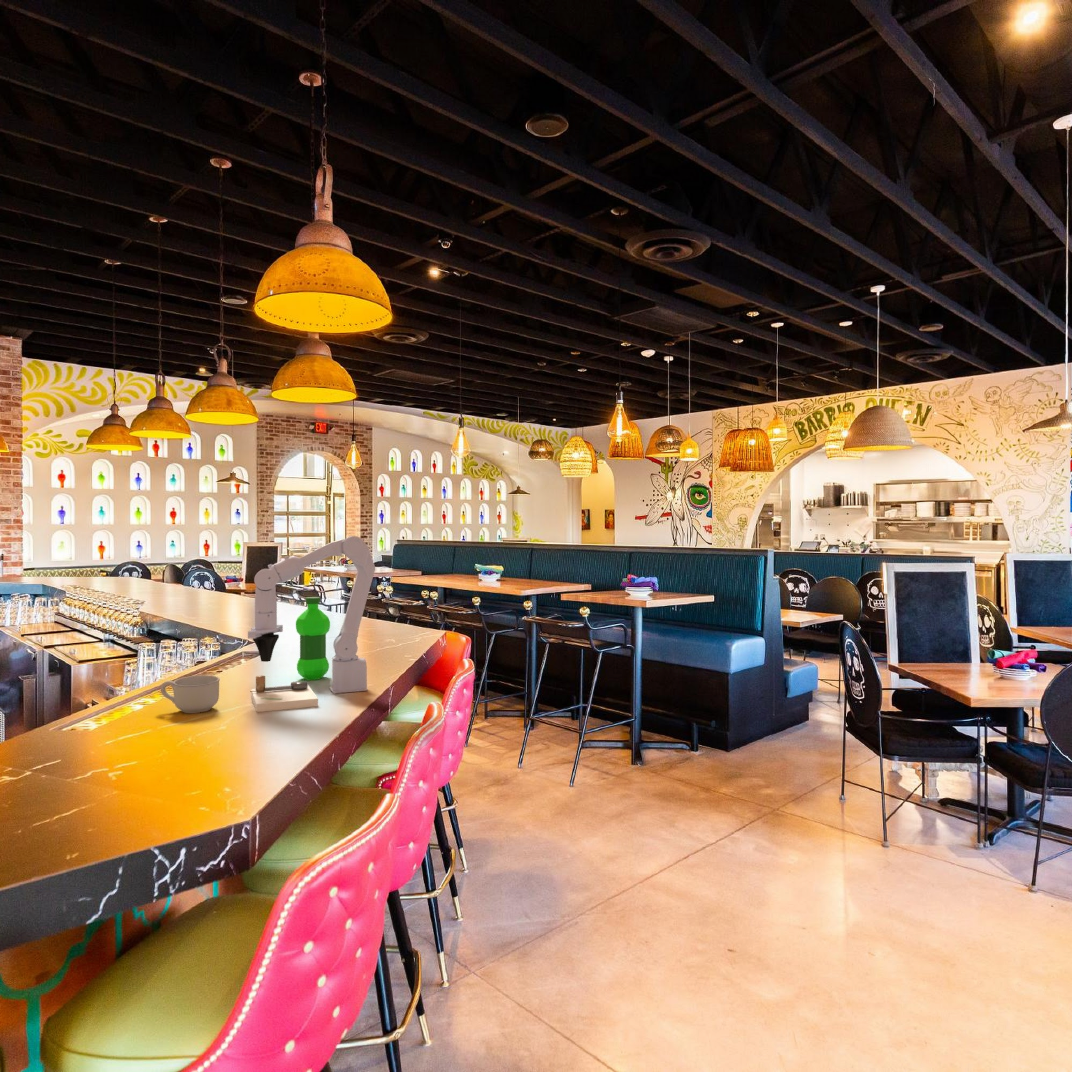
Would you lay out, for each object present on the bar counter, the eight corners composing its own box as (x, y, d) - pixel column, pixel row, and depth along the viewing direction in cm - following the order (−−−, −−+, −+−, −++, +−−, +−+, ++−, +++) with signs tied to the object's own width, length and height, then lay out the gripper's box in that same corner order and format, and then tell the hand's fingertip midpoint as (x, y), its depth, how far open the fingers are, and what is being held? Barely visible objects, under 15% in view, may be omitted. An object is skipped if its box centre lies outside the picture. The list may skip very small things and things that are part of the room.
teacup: (227, 706, 190) (227, 675, 190) (204, 716, 179) (204, 683, 179) (177, 704, 191) (177, 674, 191) (151, 715, 181) (151, 682, 181)
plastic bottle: (288, 680, 223) (288, 598, 223) (308, 674, 233) (308, 595, 233) (317, 682, 220) (317, 599, 220) (336, 676, 230) (336, 596, 230)
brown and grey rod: (306, 685, 204) (306, 671, 204) (308, 688, 200) (308, 674, 200) (249, 690, 198) (249, 675, 198) (250, 693, 194) (250, 678, 194)
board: (308, 691, 207) (308, 684, 207) (318, 706, 190) (317, 698, 190) (251, 696, 201) (251, 689, 201) (256, 712, 183) (256, 703, 183)
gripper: (266, 609, 211) (266, 656, 211) (237, 614, 196) (237, 665, 196) (289, 609, 209) (289, 657, 209) (261, 615, 195) (261, 666, 195)
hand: (265, 661), depth 203 cm, fingers closed
